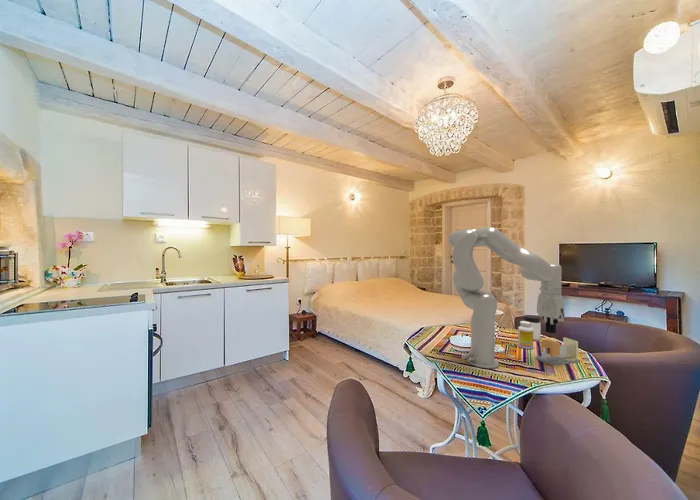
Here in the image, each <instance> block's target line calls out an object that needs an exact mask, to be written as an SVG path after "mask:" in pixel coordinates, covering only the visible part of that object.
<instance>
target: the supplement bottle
mask: <svg viewBox="0 0 700 500" xmlns="http://www.w3.org/2000/svg"><path fill="white" fill-rule="evenodd" d="M519 324H520V325H519V326H518V327H517V345H518V347H519V348H521V349H525V350H531V349H533V348H534V340H533V329H532V328H531V327H530V326H531V323H530V322H527V321H524V320H520V322H519Z"/></svg>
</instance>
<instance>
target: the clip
mask: <svg viewBox="0 0 700 500" xmlns="http://www.w3.org/2000/svg"><path fill="white" fill-rule="evenodd" d="M560 345H561V343H560V342H558V341H555V340H552V339H549V338H548V339H546V338H545V339H541V353H543V347H548V348H550V355H551V356H559V355H560Z"/></svg>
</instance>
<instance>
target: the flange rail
mask: <svg viewBox="0 0 700 500" xmlns="http://www.w3.org/2000/svg"><path fill="white" fill-rule="evenodd" d="M562 338H563V339H562V340H563V341H562V345H561V344H560V355H559V356H551V355H550V348H548V347H543V352H542V355H539V356H535V360H538V361H540V362H542V363H544V364H546V365H549V366H551V367H554V366H562V365H569V364H576V363H577V364H578V363H581V359H579V341H577V340H574V339H571V338H568V337H562Z"/></svg>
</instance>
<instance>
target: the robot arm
mask: <svg viewBox="0 0 700 500" xmlns="http://www.w3.org/2000/svg"><path fill="white" fill-rule="evenodd" d="M447 240H448V243H449V245H450V247H451V248H453V249H452V253H451V260H452V264H453V266H454V268H455V272H454V274H453V276H452V282H453V286H454V288H456V291H457V293H458V296H459V297H460V299H461V301H462V302H463V304H464V305H465V306H466V307H467V308H468V309H470V310H472V315H471V319H470V351H468V353H467V354H461V356H460V357H461V359H462V360H466V361H467V363H468V364H470V365H471V366H474V367H477V368H482V369H496V368H498V367H499V361H498V360H497V359H495V358H496V357H495V356H496V355H495V351H496V349H495V348H496V347H495V345H496V344H495V342H496V341H495V339H496V337H495V335H496V334H495V333H496V330H495V326H496V325H495V324H496V323H495V322H496V314H497V309H498V301H497V299H496V297H495V296H494V295H493V294H491V292H487V291H484V290H481V289H482V288H483V287H484V284H485V283H484V282H485V281H484V278H483V276H482V274H481V272H480V269H479V268H478V265H477V263H476V262H475V259H474V255H473V254H474V249H475V248H476V247H486V248H488V249H489V250H490V251H491V252H493V253H494V254H495V255H497V256H498V257H500V258H501V259H502V260H503V261H505V262H507V263H510V264H513V265H517V266H519V267H520V274H521V276H522V277H523V278H525V279H526V280H530V281H535V282H540V287H539V291H540V293H539V294H538V297H537V301H536V302H537V303H536V314H537V315H538V317H540V319H541V318H542V319H543V323H544V324H545V332H546V333H549V334H556V332H557V325H558V324H559V323H561V322H565V313H566V312H565V311H566V310H565V309H566V308H565V301H564V297H563V295H562V265H560V264H556V263H550V262H549V263H548V261H546V260H545V259H543V258H542V257H541V256H539V254H536V253H533V252H532V251H530V250H528V249H526V248H524V247H522V246H520V245H519V244H517V243H516V242H514V241H513V240H511V238H509V237H508V236H507V235H505V234H504V233H503V232H502V231H500V229H498V228H496V227H493V226H492V227H491V226H490V227H489V226H488V227H480V228H475V229H474V228H473V229H471V228H470V229H468V228H467V229H466V228H465V229H461V230H460V229H459V230H455V231H452V232H451V233H450V234H449V236H448V239H447Z"/></svg>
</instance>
